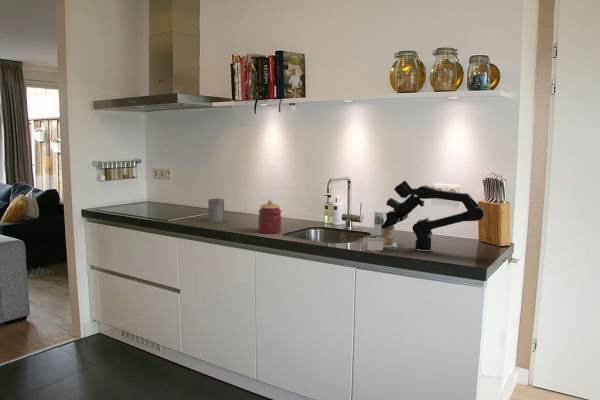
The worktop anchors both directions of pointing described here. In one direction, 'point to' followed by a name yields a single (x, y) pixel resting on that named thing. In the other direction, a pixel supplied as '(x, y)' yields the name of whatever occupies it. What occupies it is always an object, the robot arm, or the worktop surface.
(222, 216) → the pillar candle
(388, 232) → the oak block
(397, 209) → the robot arm
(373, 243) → the screen
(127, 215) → the worktop surface
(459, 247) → the worktop surface
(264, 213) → the canister
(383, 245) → the display pad
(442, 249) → the worktop surface
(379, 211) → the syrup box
